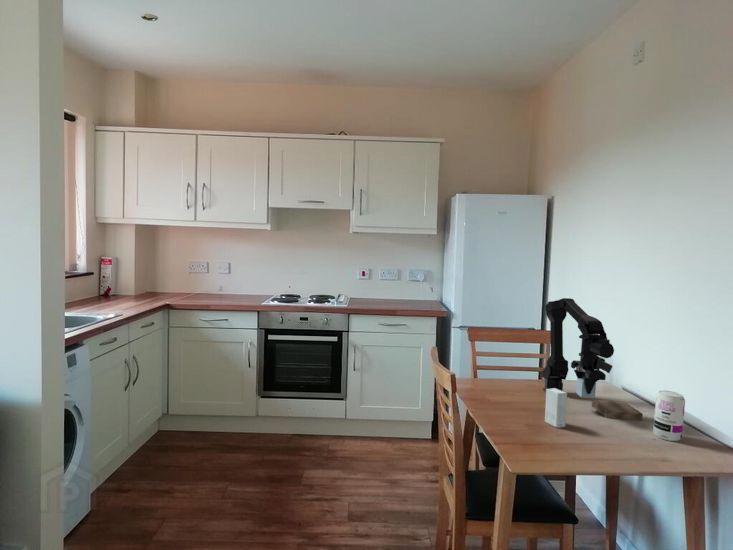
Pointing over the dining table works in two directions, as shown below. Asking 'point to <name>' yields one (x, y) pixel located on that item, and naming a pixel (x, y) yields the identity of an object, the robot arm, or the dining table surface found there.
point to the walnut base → (616, 410)
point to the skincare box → (556, 407)
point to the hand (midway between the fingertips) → (585, 391)
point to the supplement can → (669, 415)
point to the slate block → (584, 389)
